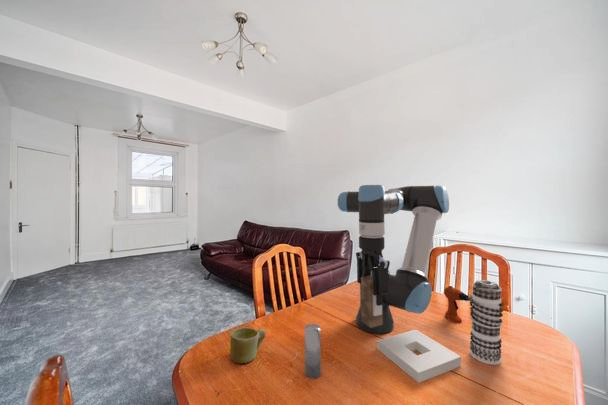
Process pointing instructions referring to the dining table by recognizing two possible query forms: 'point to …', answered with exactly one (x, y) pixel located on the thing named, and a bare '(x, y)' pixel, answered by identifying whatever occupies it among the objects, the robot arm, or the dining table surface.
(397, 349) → the socket plate
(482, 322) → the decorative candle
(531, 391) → the dining table surface
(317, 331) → the round peg
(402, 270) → the robot arm
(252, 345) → the mug
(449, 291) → the toy drill
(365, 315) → the square peg
